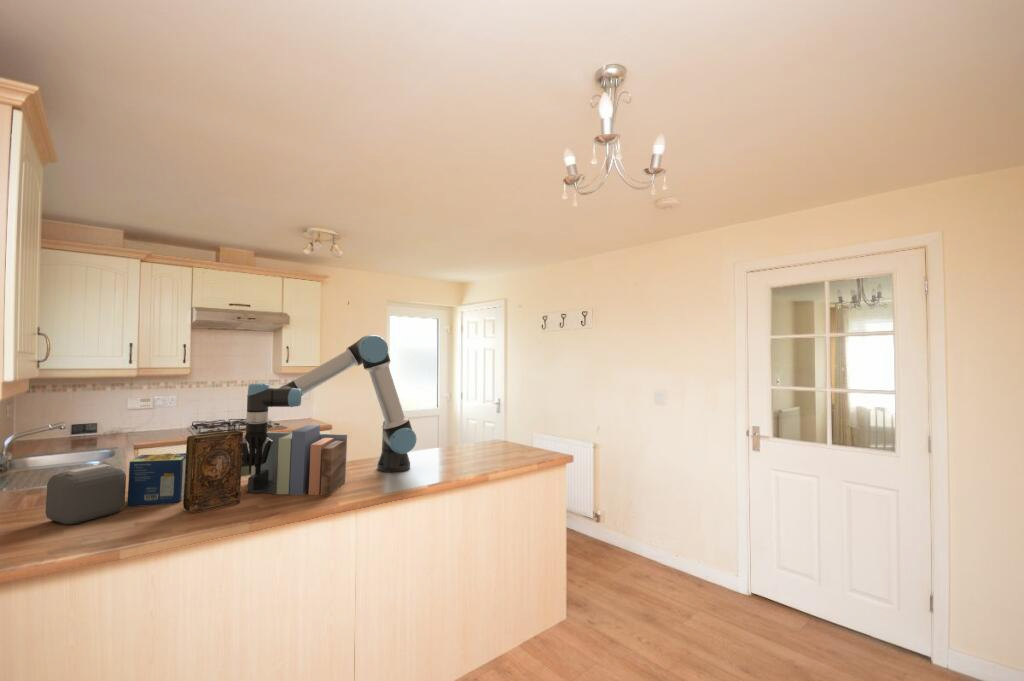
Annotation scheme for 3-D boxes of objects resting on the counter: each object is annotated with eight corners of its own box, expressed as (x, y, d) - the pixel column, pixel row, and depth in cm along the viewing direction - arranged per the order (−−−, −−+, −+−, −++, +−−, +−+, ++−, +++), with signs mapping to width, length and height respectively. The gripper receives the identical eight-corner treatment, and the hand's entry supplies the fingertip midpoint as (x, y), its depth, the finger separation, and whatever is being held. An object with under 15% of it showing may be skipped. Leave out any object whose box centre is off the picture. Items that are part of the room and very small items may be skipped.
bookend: (293, 481, 193) (295, 450, 193) (275, 493, 177) (277, 459, 177) (265, 481, 192) (267, 449, 192) (244, 493, 176) (246, 458, 176)
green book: (304, 483, 192) (306, 432, 193) (288, 494, 177) (290, 438, 178) (293, 482, 192) (295, 431, 193) (276, 494, 177) (278, 438, 178)
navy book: (317, 483, 192) (320, 425, 193) (302, 494, 177) (305, 431, 178) (305, 483, 192) (307, 424, 193) (289, 494, 177) (292, 431, 178)
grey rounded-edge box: (107, 506, 158) (109, 460, 158) (128, 512, 154) (130, 464, 154) (44, 522, 143) (47, 471, 143) (66, 528, 139) (69, 476, 139)
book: (235, 499, 170) (238, 430, 170) (242, 502, 166) (245, 432, 167) (182, 510, 157) (186, 436, 157) (189, 514, 153) (192, 438, 154)
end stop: (344, 483, 194) (345, 439, 194) (329, 496, 177) (331, 448, 177) (335, 483, 194) (337, 439, 194) (320, 495, 177) (322, 448, 177)
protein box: (138, 497, 168) (140, 454, 168) (188, 494, 173) (190, 452, 174) (125, 507, 158) (128, 461, 158) (179, 503, 164) (181, 459, 164)
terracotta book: (331, 484, 192) (333, 438, 193) (319, 494, 178) (321, 444, 179) (322, 483, 192) (324, 437, 192) (308, 494, 178) (310, 444, 178)
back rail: (345, 482, 195) (347, 434, 196) (344, 482, 194) (346, 434, 195) (258, 480, 194) (260, 432, 195) (256, 481, 193) (258, 432, 193)
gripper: (278, 421, 189) (275, 479, 188) (245, 420, 188) (242, 478, 188) (269, 424, 181) (266, 485, 181) (235, 423, 181) (232, 484, 180)
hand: (254, 481), depth 184 cm, fingers closed
